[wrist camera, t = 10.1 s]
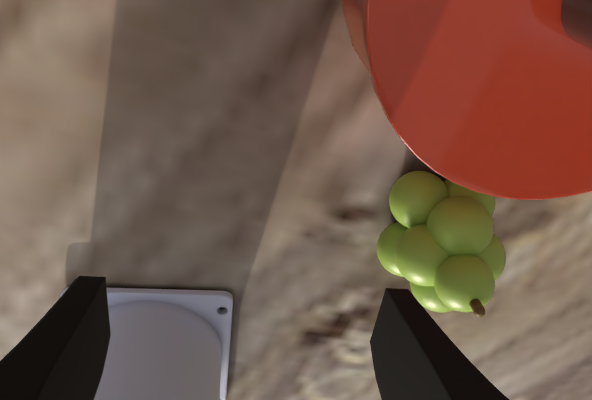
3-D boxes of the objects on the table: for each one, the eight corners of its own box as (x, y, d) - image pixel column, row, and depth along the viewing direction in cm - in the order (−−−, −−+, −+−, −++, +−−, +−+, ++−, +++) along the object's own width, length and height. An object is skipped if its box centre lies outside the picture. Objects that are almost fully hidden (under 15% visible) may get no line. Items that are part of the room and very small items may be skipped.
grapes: (455, 257, 25) (514, 366, 20) (366, 253, 24) (402, 365, 19) (489, 162, 22) (570, 258, 17) (390, 156, 22) (440, 253, 16)
